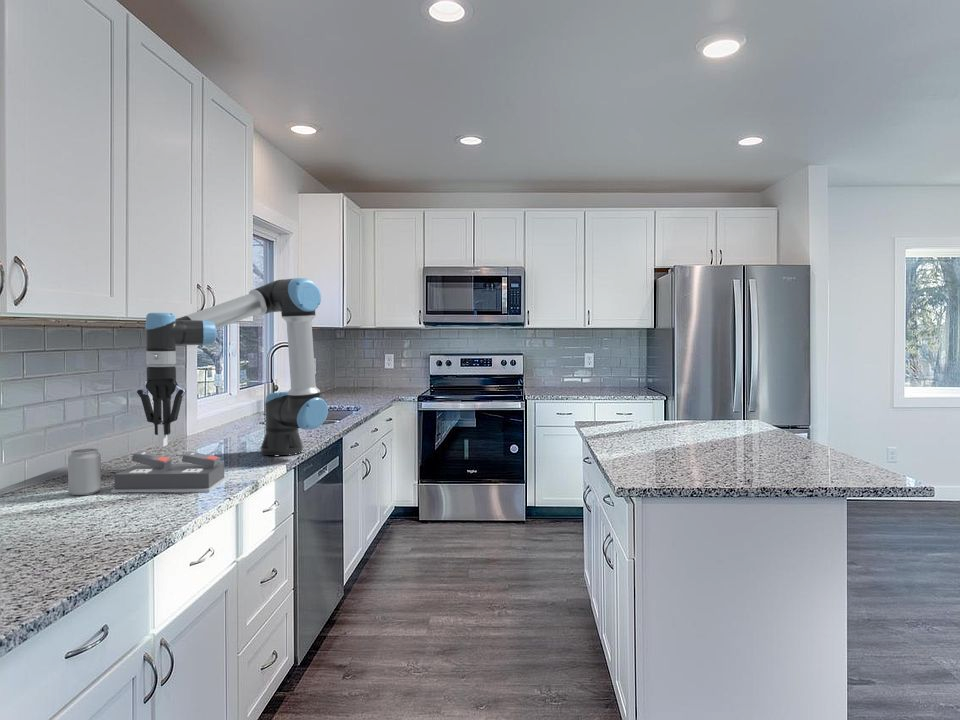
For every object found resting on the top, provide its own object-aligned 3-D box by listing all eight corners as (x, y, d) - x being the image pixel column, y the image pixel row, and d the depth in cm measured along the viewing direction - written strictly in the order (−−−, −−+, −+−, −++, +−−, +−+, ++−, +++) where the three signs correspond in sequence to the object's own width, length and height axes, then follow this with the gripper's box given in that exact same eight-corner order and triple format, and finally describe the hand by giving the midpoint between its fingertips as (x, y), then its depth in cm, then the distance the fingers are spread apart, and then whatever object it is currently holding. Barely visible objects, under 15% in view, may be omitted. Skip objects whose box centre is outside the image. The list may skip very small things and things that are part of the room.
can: (84, 497, 154) (84, 453, 153) (61, 495, 155) (60, 451, 155) (107, 490, 161) (107, 448, 160) (85, 488, 162) (85, 446, 162)
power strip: (137, 479, 173) (137, 462, 173) (227, 479, 176) (227, 461, 176) (111, 493, 158) (110, 473, 158) (209, 492, 161) (209, 473, 161)
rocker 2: (188, 457, 172) (190, 450, 172) (219, 463, 173) (220, 456, 173) (181, 461, 167) (183, 454, 167) (213, 467, 168) (214, 460, 168)
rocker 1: (139, 457, 170) (142, 450, 170) (170, 465, 171) (172, 458, 171) (131, 460, 165) (133, 453, 165) (162, 469, 166) (165, 462, 166)
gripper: (131, 366, 163) (133, 448, 164) (179, 366, 164) (180, 448, 165) (143, 364, 170) (145, 443, 172) (189, 365, 172) (191, 443, 173)
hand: (162, 445), depth 169 cm, fingers closed
